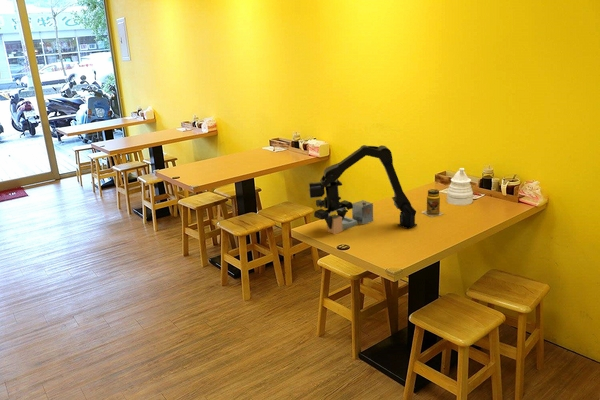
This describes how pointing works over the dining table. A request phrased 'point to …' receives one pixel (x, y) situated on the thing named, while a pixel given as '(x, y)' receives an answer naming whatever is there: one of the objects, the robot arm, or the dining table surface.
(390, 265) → the dining table surface
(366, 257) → the dining table surface
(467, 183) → the honey pot
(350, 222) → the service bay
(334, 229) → the block
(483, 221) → the dining table surface
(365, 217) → the junction box
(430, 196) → the condiment
